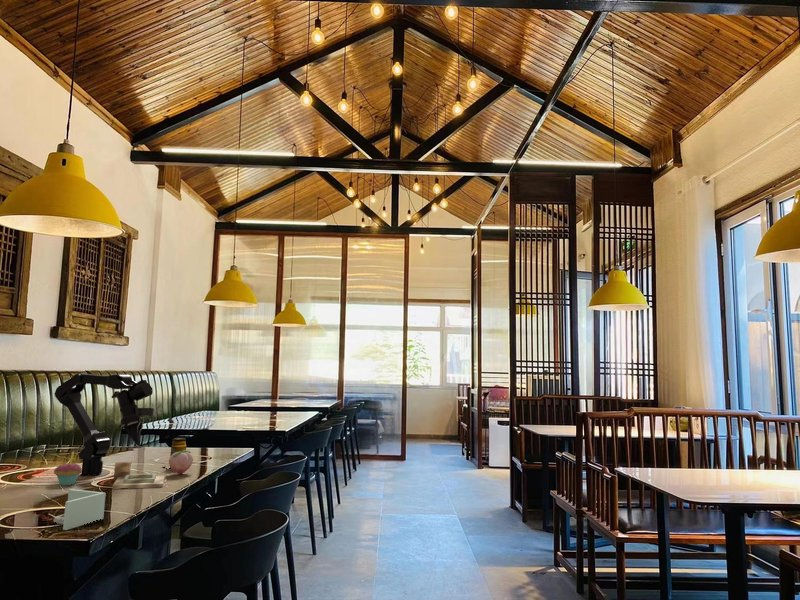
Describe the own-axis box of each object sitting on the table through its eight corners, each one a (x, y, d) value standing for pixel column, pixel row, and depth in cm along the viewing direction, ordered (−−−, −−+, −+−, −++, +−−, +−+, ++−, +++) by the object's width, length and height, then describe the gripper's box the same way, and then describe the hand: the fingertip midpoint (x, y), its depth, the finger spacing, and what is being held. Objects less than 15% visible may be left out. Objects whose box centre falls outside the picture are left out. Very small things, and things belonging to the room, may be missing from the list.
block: (113, 480, 206) (114, 463, 207) (115, 478, 211) (116, 461, 211) (128, 480, 208) (129, 463, 208) (129, 477, 212) (131, 461, 213)
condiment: (188, 467, 236) (190, 438, 238) (168, 469, 230) (170, 440, 232) (181, 465, 241) (183, 437, 243) (161, 467, 236) (163, 438, 237)
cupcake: (85, 483, 200) (89, 448, 201) (63, 487, 192) (66, 451, 194) (70, 480, 203) (73, 447, 205) (47, 484, 196) (50, 449, 197)
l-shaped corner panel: (68, 516, 157) (71, 489, 158) (103, 520, 154) (105, 492, 155) (29, 527, 146) (32, 497, 147) (65, 532, 143) (68, 502, 143)
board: (112, 489, 191) (112, 481, 192) (117, 480, 206) (118, 473, 206) (162, 486, 197) (163, 479, 197) (164, 478, 212) (165, 472, 212)
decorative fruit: (177, 471, 226) (178, 446, 227) (195, 473, 224) (197, 447, 226) (162, 475, 217) (164, 449, 218) (181, 477, 215) (183, 450, 217)
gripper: (148, 394, 212) (159, 433, 209) (151, 402, 228) (161, 439, 225) (116, 403, 207) (126, 444, 204) (121, 411, 224) (131, 449, 220)
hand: (138, 444), depth 213 cm, fingers open, 9 cm apart
